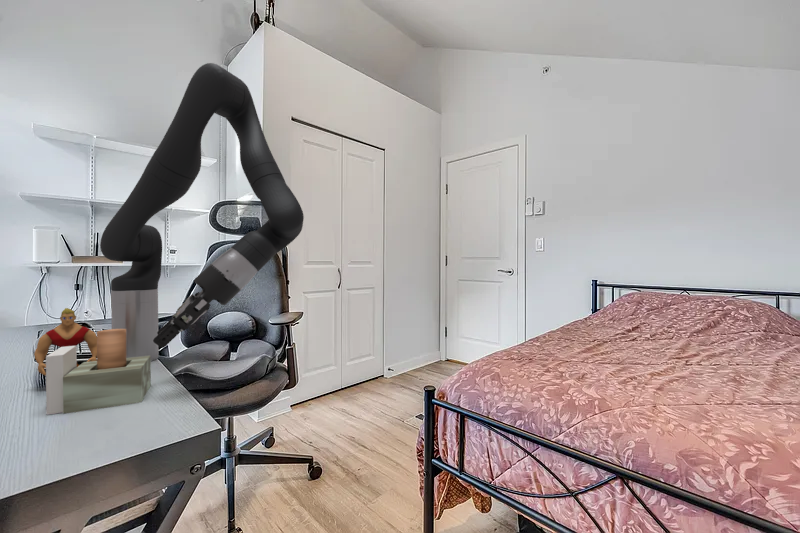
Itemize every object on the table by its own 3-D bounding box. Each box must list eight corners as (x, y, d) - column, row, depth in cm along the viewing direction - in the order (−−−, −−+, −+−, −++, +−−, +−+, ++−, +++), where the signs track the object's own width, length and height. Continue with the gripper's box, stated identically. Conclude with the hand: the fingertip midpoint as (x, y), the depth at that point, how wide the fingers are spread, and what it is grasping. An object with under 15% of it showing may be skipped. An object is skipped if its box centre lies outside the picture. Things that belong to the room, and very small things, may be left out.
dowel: (99, 387, 64) (99, 330, 64) (127, 383, 66) (127, 327, 66) (95, 393, 61) (94, 333, 61) (125, 389, 63) (124, 331, 63)
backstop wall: (61, 398, 63) (61, 346, 63) (76, 396, 64) (76, 345, 64) (46, 414, 56) (45, 356, 56) (63, 412, 57) (63, 354, 57)
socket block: (84, 395, 66) (83, 362, 66) (150, 386, 70) (150, 355, 70) (63, 415, 57) (62, 377, 57) (141, 404, 61) (140, 368, 61)
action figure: (32, 393, 66) (31, 310, 66) (35, 388, 69) (34, 308, 69) (100, 382, 72) (99, 306, 72) (100, 378, 75) (99, 305, 75)
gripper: (210, 263, 78) (145, 322, 72) (214, 262, 65) (136, 333, 59) (237, 287, 80) (177, 346, 74) (246, 290, 68) (175, 361, 62)
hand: (159, 340), depth 67 cm, fingers open, 8 cm apart
